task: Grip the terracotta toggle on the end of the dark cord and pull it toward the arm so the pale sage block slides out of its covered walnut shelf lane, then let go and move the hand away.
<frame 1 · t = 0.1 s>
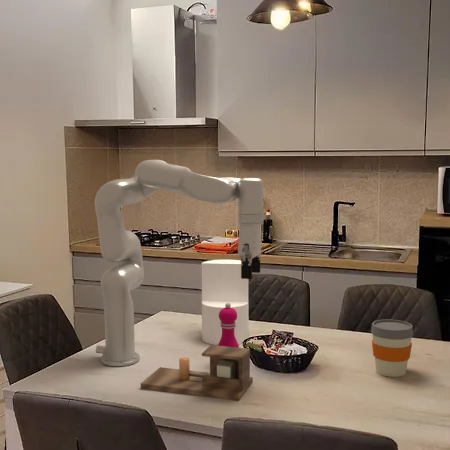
hand: (250, 275, 183), 31 cm above the table, tool pointing down, fingers open, 9 cm apart
reusable coffee cup: (390, 372, 188), on the table
sage block: (205, 371, 177), point 5 cm above the table, slide at 0.0 cm
shelf lane: (197, 385, 178), on the table
cylinder: (225, 338, 223), on the table
pepper mill: (228, 363, 197), on the table
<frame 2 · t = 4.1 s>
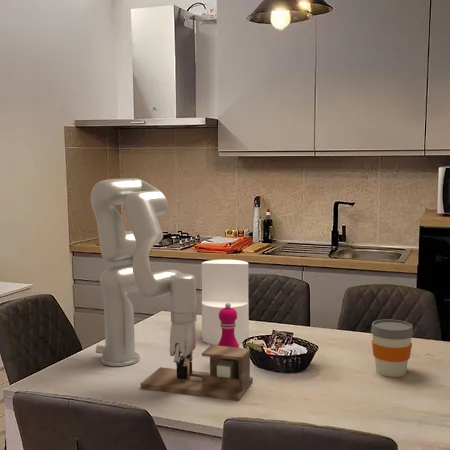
hand: (184, 376, 179), 2 cm above the table, tool pointing down, fingers closed on sage block, 3 cm apart
sage block: (205, 371, 177), point 5 cm above the table, slide at 0.0 cm, touching gripper
everything else where it was.
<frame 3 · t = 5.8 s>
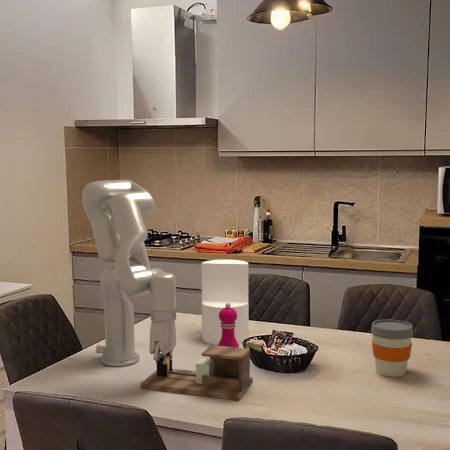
hand: (164, 373, 181), 2 cm above the table, tool pointing down, fingers closed on sage block, 3 cm apart
sage block: (185, 368, 179), point 5 cm above the table, slide at 6.4 cm, touching gripper
everything else where it was.
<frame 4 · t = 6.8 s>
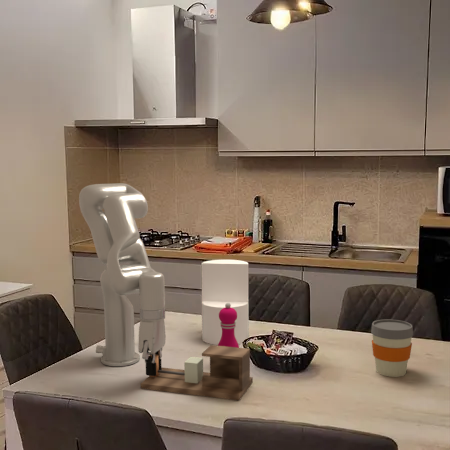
hand: (153, 372, 182), 2 cm above the table, tool pointing down, fingers closed on sage block, 3 cm apart
sage block: (174, 367, 180), point 5 cm above the table, slide at 10.0 cm, touching gripper
everything else where it was.
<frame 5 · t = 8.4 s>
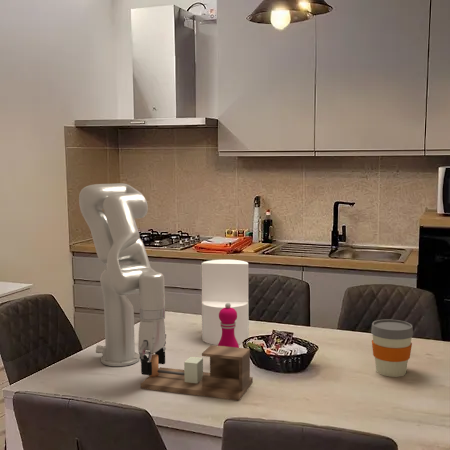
hand: (153, 369, 182), 4 cm above the table, tool pointing down, fingers open, 9 cm apart
sage block: (174, 367, 180), point 5 cm above the table, slide at 10.0 cm
everything else where it was.
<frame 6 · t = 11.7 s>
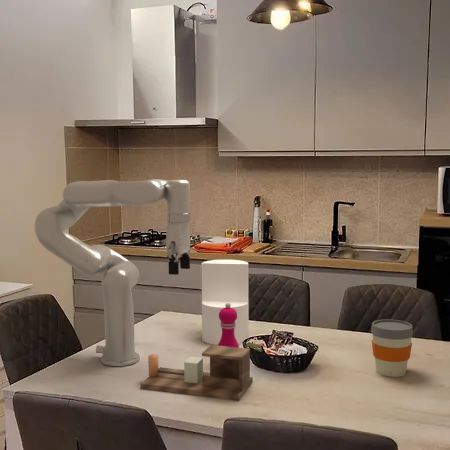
hand: (179, 271, 194), 30 cm above the table, tool pointing down, fingers open, 9 cm apart
nothing on the table moved.
at the end: sage block slide at 10.0 cm; the gripper is holding nothing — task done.
